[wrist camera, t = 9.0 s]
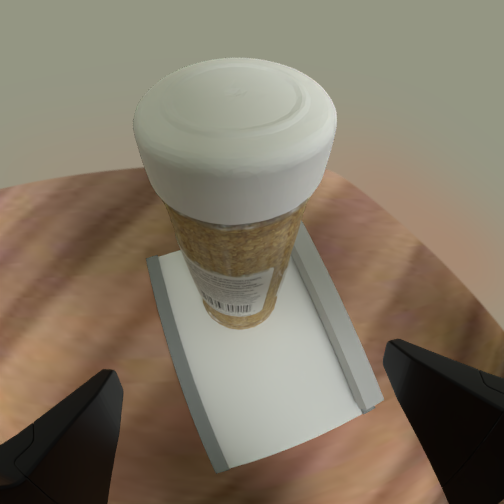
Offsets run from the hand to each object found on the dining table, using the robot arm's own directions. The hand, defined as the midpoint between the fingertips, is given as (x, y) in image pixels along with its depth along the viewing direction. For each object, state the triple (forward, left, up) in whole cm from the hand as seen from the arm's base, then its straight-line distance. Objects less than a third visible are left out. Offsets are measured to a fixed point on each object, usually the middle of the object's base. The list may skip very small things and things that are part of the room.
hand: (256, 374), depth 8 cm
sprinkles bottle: (+5, -1, -8) cm, 9 cm away
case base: (+2, -1, -9) cm, 9 cm away
